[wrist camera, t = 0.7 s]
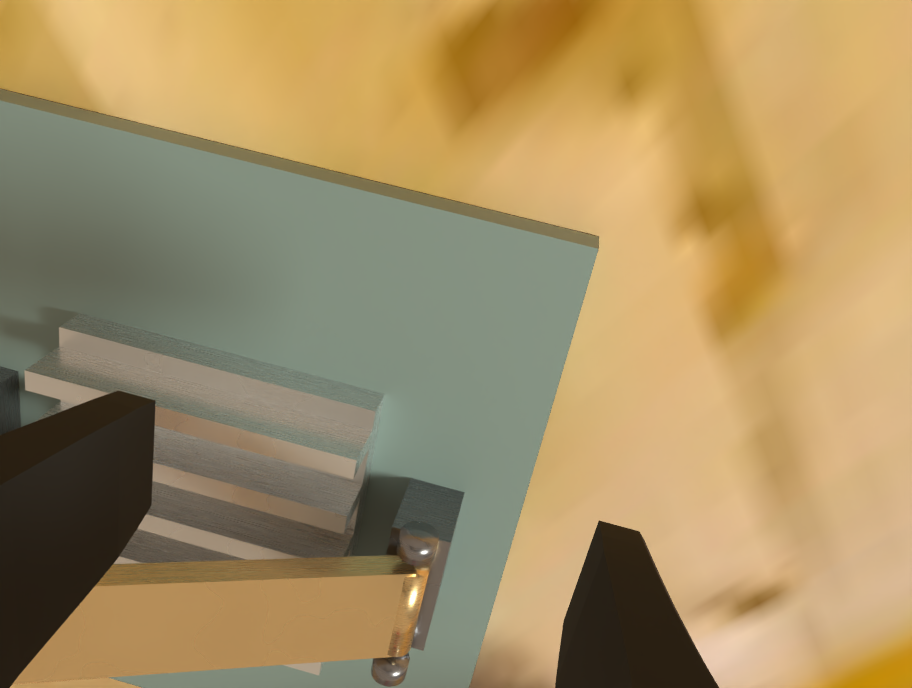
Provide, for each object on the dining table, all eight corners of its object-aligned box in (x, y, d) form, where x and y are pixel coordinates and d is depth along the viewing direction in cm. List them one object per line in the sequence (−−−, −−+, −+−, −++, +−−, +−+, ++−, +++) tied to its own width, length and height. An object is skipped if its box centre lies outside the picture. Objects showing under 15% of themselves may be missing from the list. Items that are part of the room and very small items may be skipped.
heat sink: (424, 652, 26) (399, 742, 23) (-7, 528, 27) (-85, 599, 24) (483, 419, 22) (462, 491, 19) (-25, 285, 23) (-120, 333, 20)
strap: (407, 632, 23) (413, 658, 22) (-135, 666, 19) (-149, 699, 18) (425, 551, 22) (433, 575, 21) (-152, 569, 18) (-168, 600, 17)
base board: (447, 751, 30) (442, 776, 29) (-13, 616, 31) (-32, 636, 30) (599, 236, 21) (598, 248, 20) (-57, 74, 22) (-85, 79, 21)
